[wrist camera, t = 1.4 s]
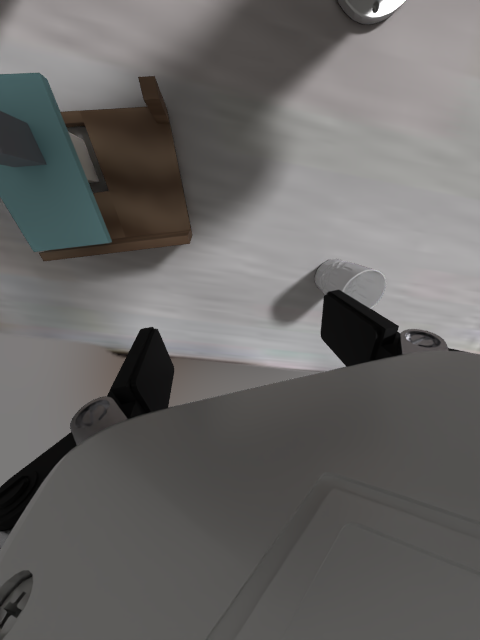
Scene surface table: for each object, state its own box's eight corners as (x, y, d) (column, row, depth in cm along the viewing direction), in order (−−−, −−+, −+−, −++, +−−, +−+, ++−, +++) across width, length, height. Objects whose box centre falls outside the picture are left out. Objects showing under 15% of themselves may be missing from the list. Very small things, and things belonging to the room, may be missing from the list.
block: (46, 142, 25) (-9, 120, 19) (83, 139, 25) (42, 117, 19) (65, 185, 27) (23, 179, 21) (99, 182, 28) (68, 175, 21)
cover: (-59, 83, 17) (-174, 30, 12) (46, 79, 18) (-18, 27, 12) (39, 250, 24) (-5, 262, 19) (112, 241, 25) (88, 251, 20)
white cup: (309, 294, 42) (335, 317, 34) (314, 257, 38) (346, 272, 30) (343, 290, 43) (377, 311, 35) (352, 253, 39) (393, 267, 31)
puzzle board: (14, 119, 24) (-63, 84, 17) (167, 109, 25) (153, 74, 18) (78, 249, 31) (43, 261, 24) (192, 235, 33) (189, 243, 26)
